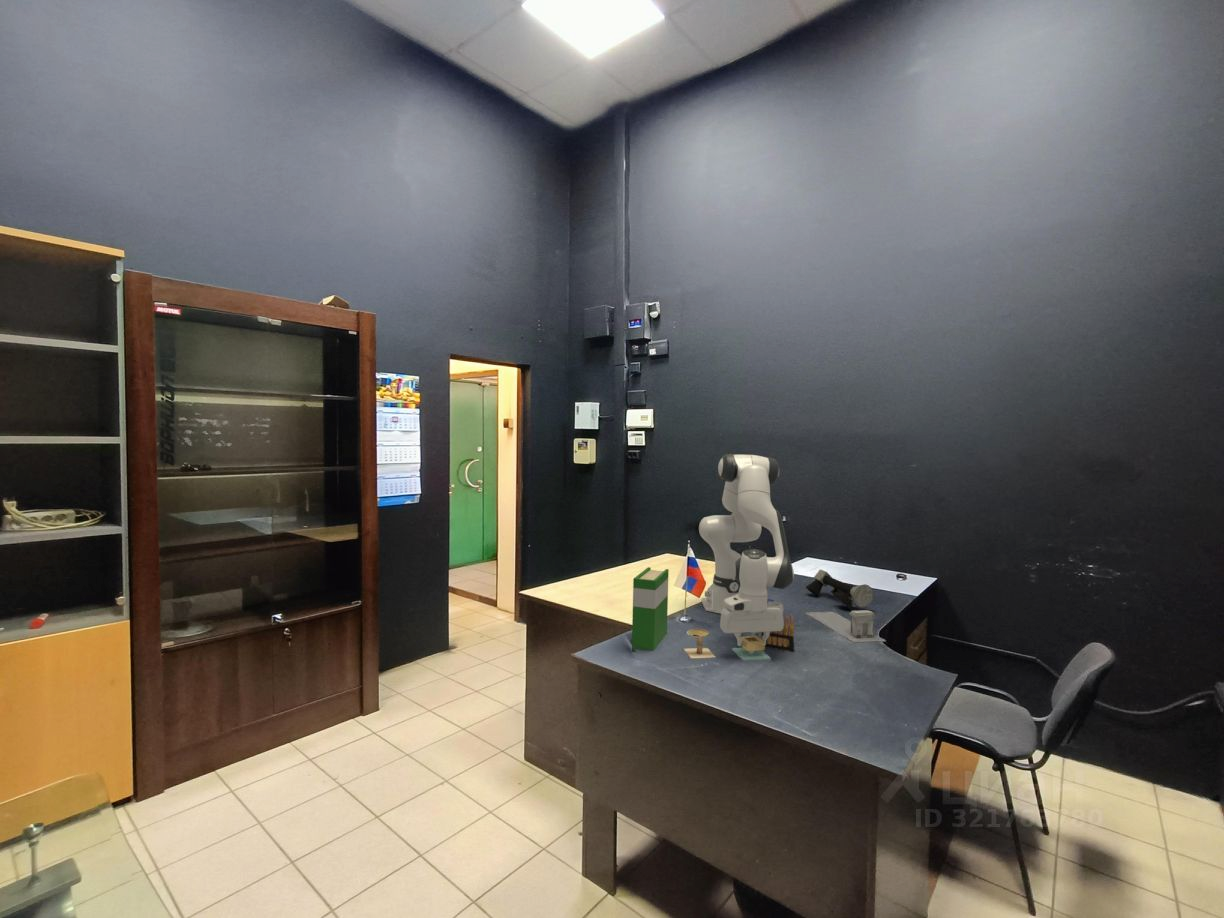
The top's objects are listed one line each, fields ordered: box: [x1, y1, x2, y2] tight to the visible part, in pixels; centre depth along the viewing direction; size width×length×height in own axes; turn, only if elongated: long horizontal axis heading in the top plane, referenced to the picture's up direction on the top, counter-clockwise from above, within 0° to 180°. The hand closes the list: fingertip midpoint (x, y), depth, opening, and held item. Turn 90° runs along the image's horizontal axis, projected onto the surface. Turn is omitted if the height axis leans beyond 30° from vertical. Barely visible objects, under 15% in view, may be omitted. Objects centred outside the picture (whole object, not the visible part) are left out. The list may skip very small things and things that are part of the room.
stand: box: [683, 636, 716, 659], centre depth 176 cm, size 8×8×6 cm
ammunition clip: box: [761, 613, 795, 653], centre depth 186 cm, size 11×2×12 cm, turn 66°
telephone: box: [805, 568, 874, 611], centre depth 242 cm, size 15×13×30 cm
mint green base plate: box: [731, 647, 771, 662], centre depth 176 cm, size 9×9×5 cm
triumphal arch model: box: [804, 609, 887, 644], centre depth 210 cm, size 12×33×10 cm, turn 10°
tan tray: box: [739, 635, 766, 651], centre depth 176 cm, size 6×6×2 cm
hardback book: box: [631, 566, 670, 653], centre depth 187 cm, size 18×7×24 cm, turn 161°
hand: (751, 645), depth 176 cm, fingers closed on tan tray, 6 cm apart
